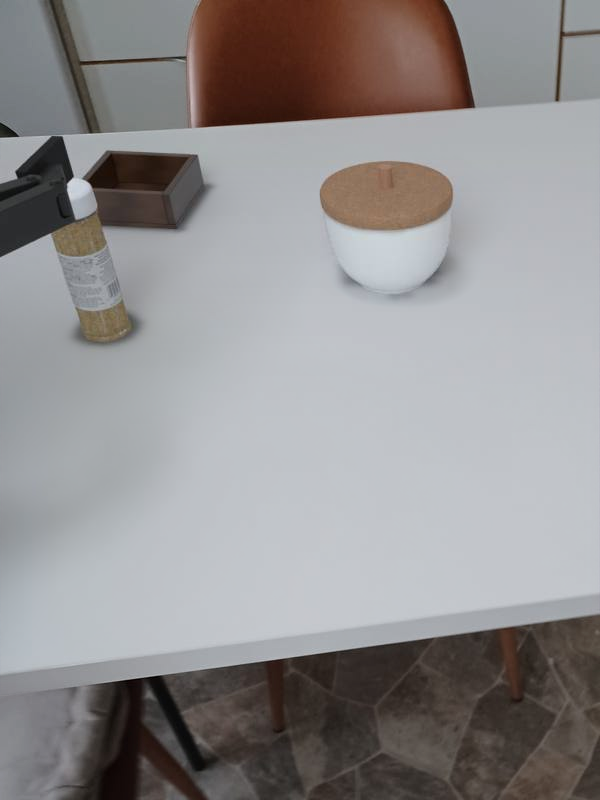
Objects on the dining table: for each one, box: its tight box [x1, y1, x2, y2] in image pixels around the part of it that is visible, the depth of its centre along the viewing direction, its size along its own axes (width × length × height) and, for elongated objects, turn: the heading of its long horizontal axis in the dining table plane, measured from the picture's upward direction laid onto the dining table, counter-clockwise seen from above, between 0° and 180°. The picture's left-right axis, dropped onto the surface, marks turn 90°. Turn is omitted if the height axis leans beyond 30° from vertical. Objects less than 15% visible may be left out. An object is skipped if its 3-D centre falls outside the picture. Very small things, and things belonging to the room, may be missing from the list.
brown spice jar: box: [50, 177, 133, 343], centre depth 85 cm, size 5×5×13 cm
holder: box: [81, 149, 205, 230], centre depth 106 cm, size 11×11×4 cm
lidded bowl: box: [319, 160, 454, 295], centre depth 93 cm, size 13×13×11 cm
